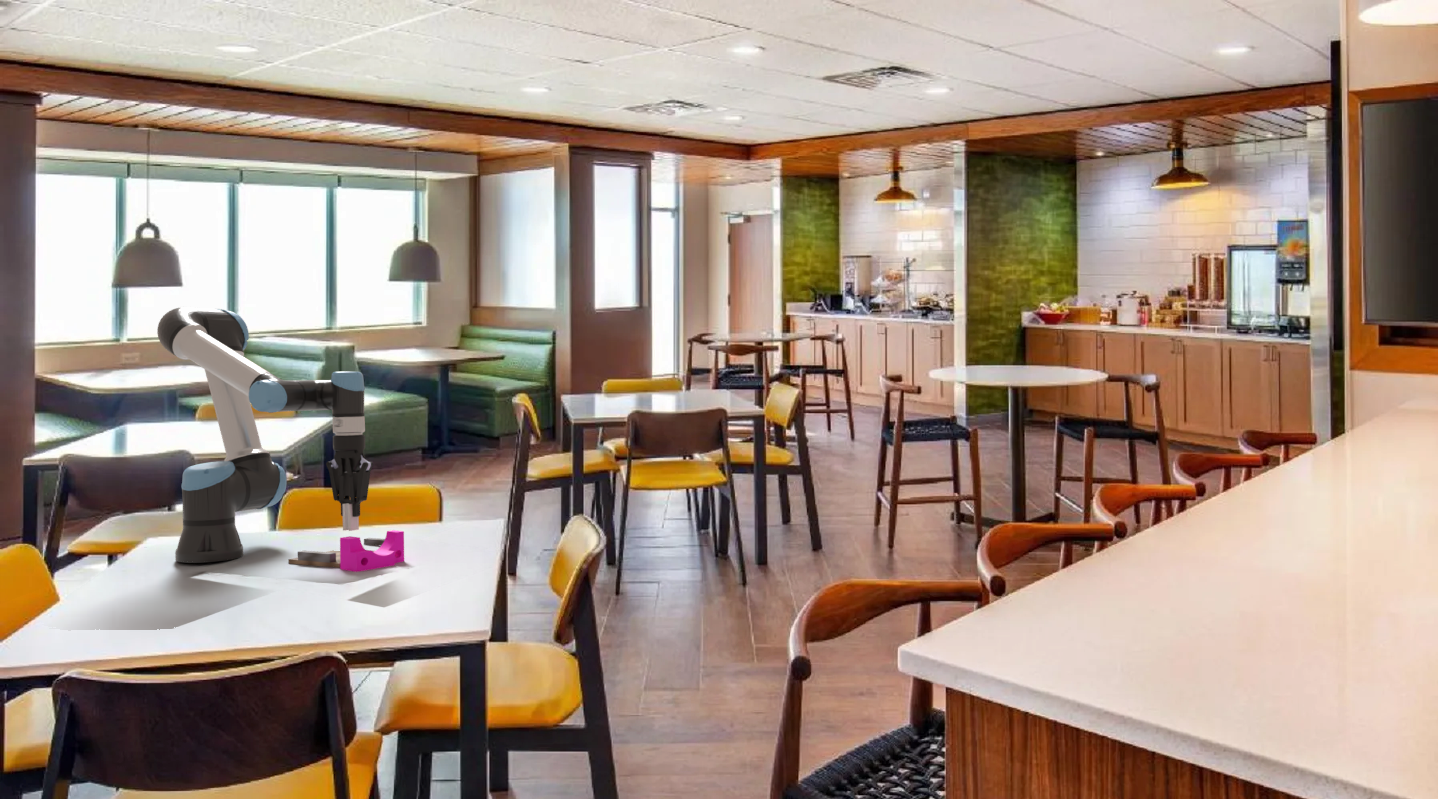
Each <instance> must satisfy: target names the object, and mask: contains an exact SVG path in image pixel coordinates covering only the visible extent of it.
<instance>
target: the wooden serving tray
mask: <svg viewBox="0 0 1438 799" xmlns="http://www.w3.org/2000/svg"><path fill="white" fill-rule="evenodd" d="M384 541H385V538H376V537H368V538H364V539H363V544H364V545H370V546H376V545H382V544H383V542H384ZM372 551H373V552H374V551H375V550H372ZM288 564H291V565H303V566H313V567H324V568H325V567H328V568H338V569H340V551H334V550H328V551H315V550H314V551H313V550H299V551H297V557H294V558H289V559H288Z"/></svg>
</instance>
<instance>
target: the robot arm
mask: <svg viewBox="0 0 1438 799" xmlns="http://www.w3.org/2000/svg"><path fill="white" fill-rule="evenodd" d="M159 320H160V321H159V322H158V325H157V333H156V334H157V338H158V340H159V343H160V344H161V346H163V348H164V349H165V350H166V351H168V352H169V353H170V354H172V355H174V356H175V357H176V358H178V359H180V360H190V361H191V362H193V363H195V364H196V365H197V366H199V367H201V368H202V369H204V372H205V376H206V379H207V384H208V387H209V391H210V396H211V400H212V404H213V407H214V411H215V416H216V419H217V423H218V426H219V428H218V429H219V432H220V434H221V439H222V443H223V446H224V450H225V455H226V457H225V458H224V460H221V461H220V460H219V461H210V462H203V463H198V464H195V465H194V464H193V465H191V466H188V467H186V468H185V469H184V471H182V472H183V473H182V479H181V480H182V481H181V482H182V483H181V493H182V494H181V495H182V531H181V533H180V537H179V540H178V544H177V548H176V549H175V553H174V554H175V556H174V557H175V561H176V562H177V563H178V562H179V563H188V564H189V563H193V564H195V563H199V564H200V563H213V562H222V561H223V562H225V561H230V560H235V559H239V558H242V557H243V556H244V546H243V544H242V541H241V538H240V535H239V532H238V529H237V528H236V513H238V512H243V511H250V510H262V509H265V508H269V507H272V506H274V505H276V504H277V503H279V501H281V500H282V498H283V496H284V494H285V492H286V490H287V489H286V488H287V475H286V471H285V470H284V468H283V466H282V465H281V464H279V463H277V462H274V461H273V460H272V457H271V454H270V452H269V451H268V450H266V449H265V448H263V447H262V443H261V439H260V436H259V432H258V427H257V424H256V420H255V416H254V411H253V409H255V410H256V411H258V412H261V413H269V414H270V413H277V412H280V413H281V412H309V411H310V412H313V411H332V413H331V414H332V415H331V416H332V433H333V434H335V435H333V436H332V449H333V451H335V453H334V456H333V459H332V460H330V461H327V462H326V463H325V465H326V467H327V470H328V472H329V478H330V484H331V490H332V499H333V501H335V502H336V501H337V502H339V503H340V515H341V517H342V531H348V532H352V531H357V530H359V529H360V527H359V526H360V522H359V521H360V520H359V517H360V516H361V503H363V502H364V501H367V499H368V495H369V494H368V493H369V484H370V477H371V471H372V469H373V466H374V462H373V461H368V460H367V459H365V458H366V456H365V454H364V450H365V449H366V435H365V434H363V433H365V432H366V424H365V423H366V422H365V421H366V419H365V391H366V389H365V381H364V374H363V373H362V372H360V371H333V372H332V373H331V378H330V379H297V380H295V379H294V380H293V379H290V380H289V379H287V380H286V379H281V378H279V377H278V376H276V375H274V374H273V373H271V372H270V371H268V370H266V369H264V368H263V367H262V366H260V365H258V364H256V363H255V362H253V361H251V360H250V359H248V358H247V357H245V352H244V351H245V350H246V348H247V347H248V341H249V340H250V339H249V338H250V336H249V334H250V333H249V329H248V326H247V324H246V322H245V320H244V319H243V318H242V317H241V316H240V315H239V314H237V313H236V312H234V311H230V310H225V309H222V308H200V307H199V308H198V307H191V306H190V307H187V306H180V307H176V308H173V309H171V310H169V311H168V312H165V314H164V315H162V316H161V319H159ZM280 465H281V466H280Z"/></svg>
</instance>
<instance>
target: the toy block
mask: <svg viewBox="0 0 1438 799" xmlns="http://www.w3.org/2000/svg"><path fill="white" fill-rule="evenodd" d="M384 539H385V541H384V542H383V544H382V545H381V546H379V547H378V549H376V550H368V549H366V548H365V547H364V546H363V544H362V542H361V537H358V536H352V535H351V536H343V537H339V550H340V568H339V569H340V570H341V571H342V570H343V571H349V572H354V573H358V572H364V571H371V570H376V569H381V568H387V567H392V566H395V565H396V564H398V563H403V561H404V562H405V531H403V530H395V529H393V530H387V531H386V536H385V538H384ZM373 551H374V552H373Z"/></svg>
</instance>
